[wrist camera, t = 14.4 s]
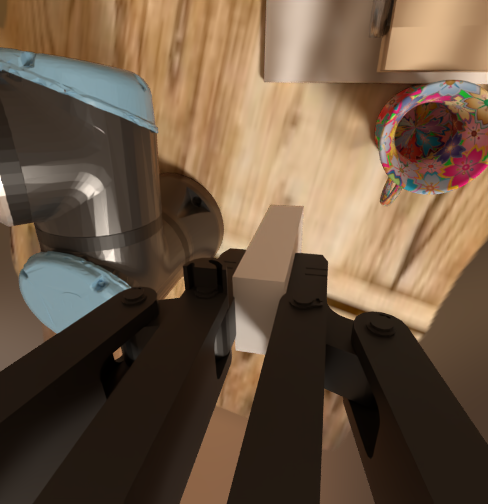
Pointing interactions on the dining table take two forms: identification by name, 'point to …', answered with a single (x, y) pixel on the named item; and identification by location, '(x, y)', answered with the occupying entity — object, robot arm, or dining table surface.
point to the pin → (380, 17)
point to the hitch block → (376, 42)
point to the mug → (433, 138)
